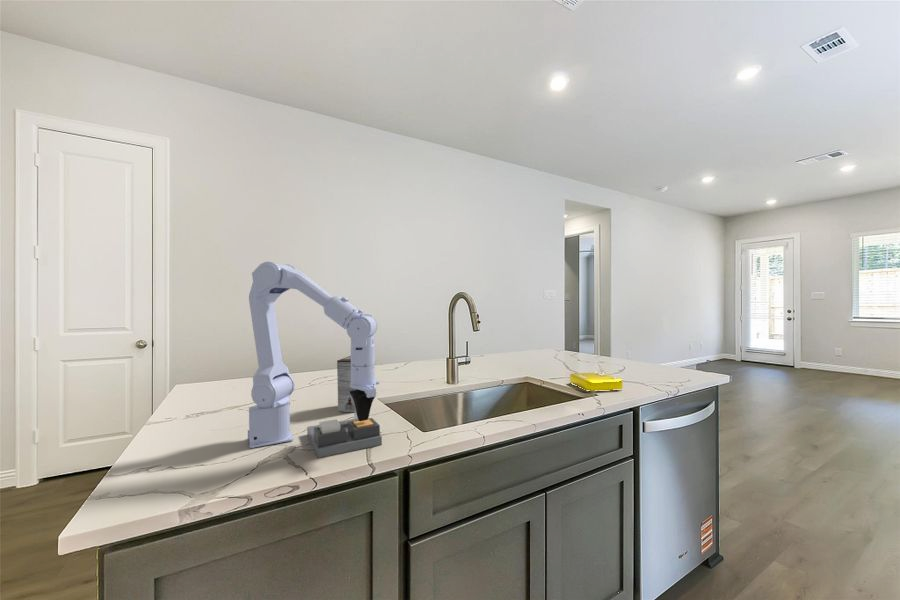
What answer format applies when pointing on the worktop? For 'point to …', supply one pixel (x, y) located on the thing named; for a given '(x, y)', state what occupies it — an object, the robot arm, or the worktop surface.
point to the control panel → (344, 438)
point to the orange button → (362, 423)
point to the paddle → (355, 414)
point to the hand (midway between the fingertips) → (363, 419)
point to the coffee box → (344, 385)
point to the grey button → (329, 426)
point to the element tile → (596, 381)
